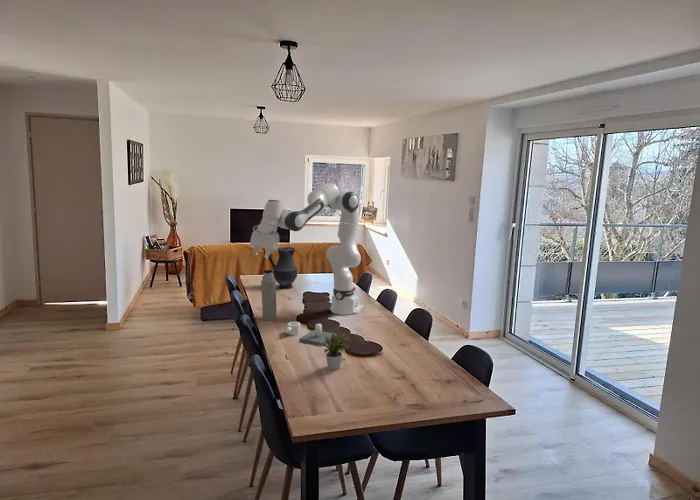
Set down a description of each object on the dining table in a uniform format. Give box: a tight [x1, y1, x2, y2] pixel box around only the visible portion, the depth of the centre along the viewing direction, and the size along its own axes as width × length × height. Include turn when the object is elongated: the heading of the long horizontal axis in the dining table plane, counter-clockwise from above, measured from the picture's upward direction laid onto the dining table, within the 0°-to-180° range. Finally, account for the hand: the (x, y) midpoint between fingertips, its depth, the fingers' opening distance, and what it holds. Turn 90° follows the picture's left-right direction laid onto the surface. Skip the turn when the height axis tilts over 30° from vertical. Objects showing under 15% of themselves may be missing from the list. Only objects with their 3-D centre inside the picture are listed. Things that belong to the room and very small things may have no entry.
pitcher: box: [268, 246, 298, 290], centre depth 343 cm, size 17×21×30 cm
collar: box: [284, 321, 302, 336], centre depth 251 cm, size 10×6×5 cm, turn 153°
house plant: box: [320, 330, 349, 371], centre depth 208 cm, size 14×14×16 cm
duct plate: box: [298, 323, 339, 347], centre depth 244 cm, size 14×14×8 cm
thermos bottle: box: [260, 269, 278, 321], centre depth 275 cm, size 8×8×28 cm
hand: (260, 256), depth 246 cm, fingers open, 8 cm apart
